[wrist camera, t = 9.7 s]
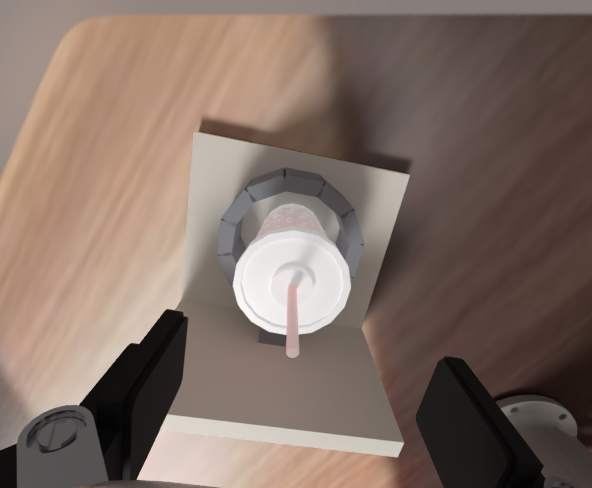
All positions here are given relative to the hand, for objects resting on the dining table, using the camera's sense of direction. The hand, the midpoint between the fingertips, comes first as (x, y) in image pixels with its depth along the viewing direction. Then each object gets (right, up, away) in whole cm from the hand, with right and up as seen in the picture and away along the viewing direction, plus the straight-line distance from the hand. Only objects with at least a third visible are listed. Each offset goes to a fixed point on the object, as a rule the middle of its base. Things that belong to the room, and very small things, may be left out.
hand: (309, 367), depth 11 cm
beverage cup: (-1, +5, +13) cm, 14 cm away
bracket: (-1, +4, +15) cm, 15 cm away
